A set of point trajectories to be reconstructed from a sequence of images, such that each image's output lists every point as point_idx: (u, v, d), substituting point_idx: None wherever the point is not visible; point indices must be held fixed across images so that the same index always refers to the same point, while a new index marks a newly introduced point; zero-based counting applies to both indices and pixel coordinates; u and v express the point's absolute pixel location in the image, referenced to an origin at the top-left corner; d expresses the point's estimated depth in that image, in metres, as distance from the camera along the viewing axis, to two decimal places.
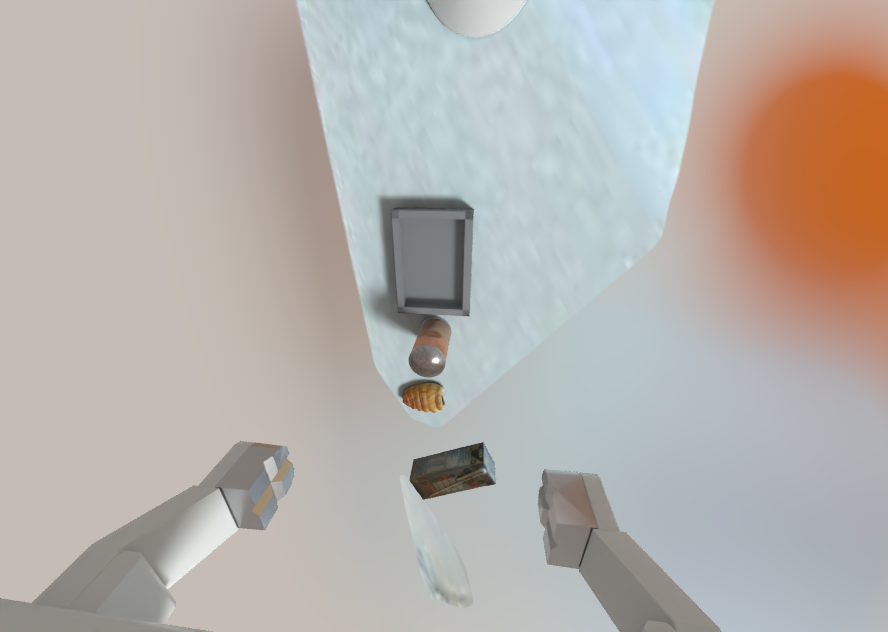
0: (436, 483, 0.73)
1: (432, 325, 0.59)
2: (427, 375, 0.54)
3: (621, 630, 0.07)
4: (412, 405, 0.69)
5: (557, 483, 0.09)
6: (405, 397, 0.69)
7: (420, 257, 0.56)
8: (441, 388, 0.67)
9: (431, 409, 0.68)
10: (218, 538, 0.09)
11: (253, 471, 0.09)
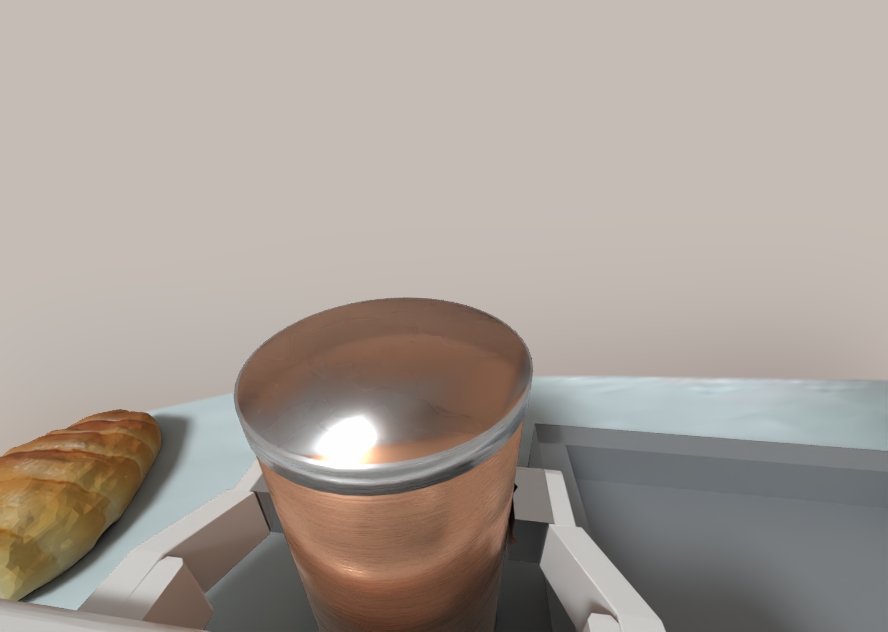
0: None
1: None
2: (277, 344, 0.07)
3: (575, 624, 0.07)
4: (70, 428, 0.17)
5: (520, 480, 0.09)
6: (133, 415, 0.18)
7: (806, 564, 0.12)
8: (8, 585, 0.11)
9: None
10: (252, 542, 0.09)
11: None
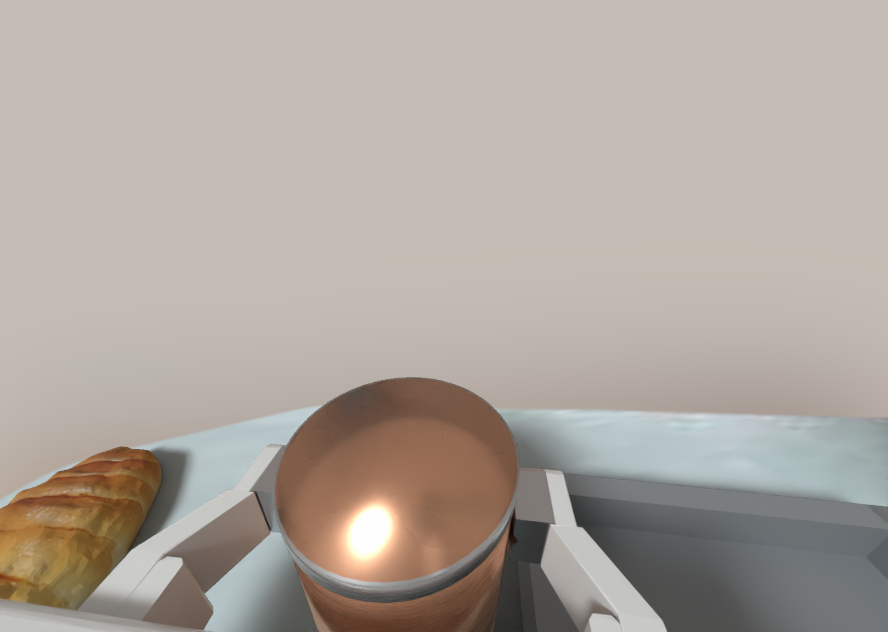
0: None
1: None
2: (303, 440, 0.09)
3: (576, 624, 0.07)
4: (75, 469, 0.17)
5: (520, 479, 0.09)
6: (135, 454, 0.19)
7: (757, 609, 0.14)
8: None
9: None
10: (252, 543, 0.09)
11: None
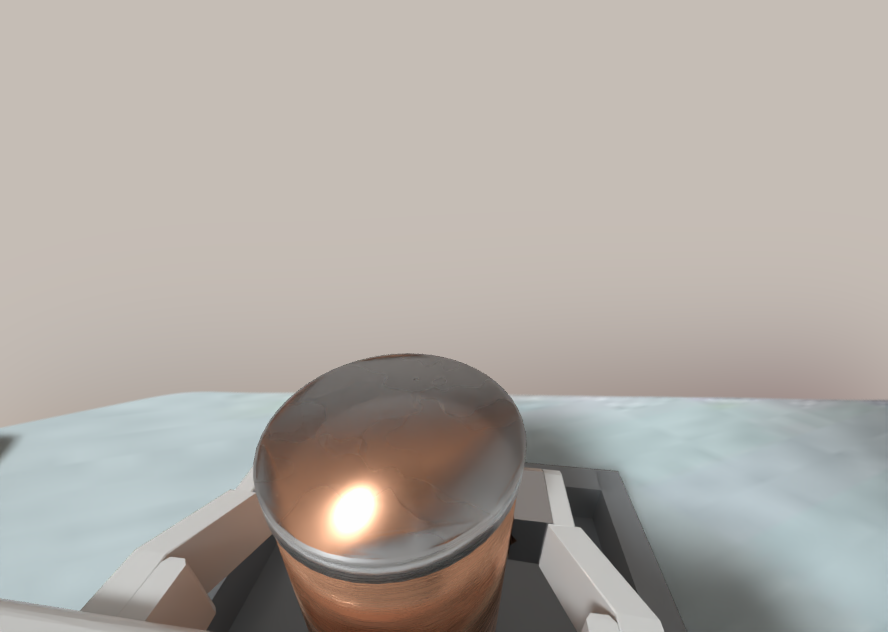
0: None
1: None
2: (290, 412, 0.08)
3: (574, 624, 0.07)
4: None
5: None
6: None
7: None
8: None
9: None
10: (254, 543, 0.09)
11: None
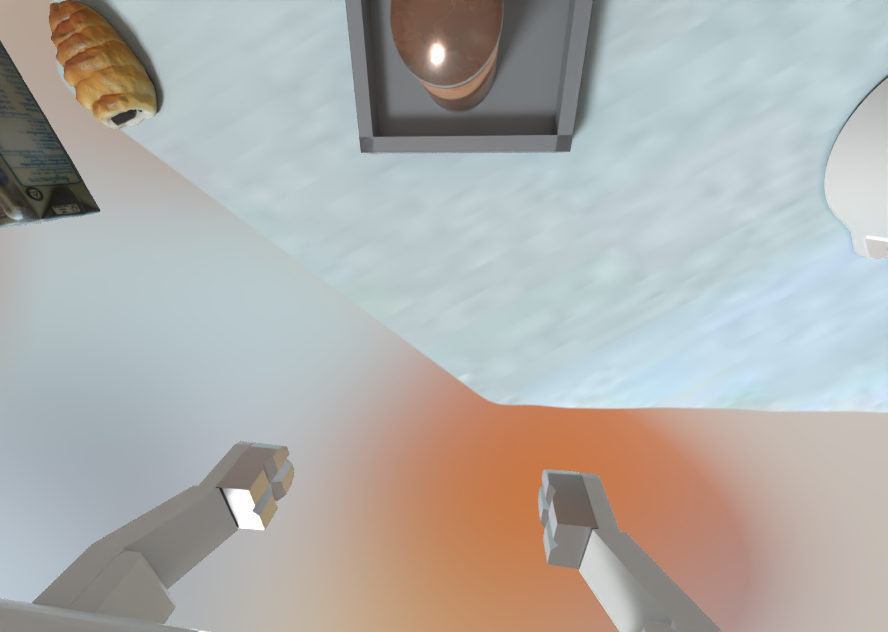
0: None
1: None
2: (396, 21, 0.17)
3: (621, 630, 0.07)
4: (57, 34, 0.28)
5: (557, 483, 0.09)
6: (67, 7, 0.27)
7: None
8: (149, 107, 0.30)
9: (79, 90, 0.29)
10: (218, 538, 0.09)
11: (253, 471, 0.09)
